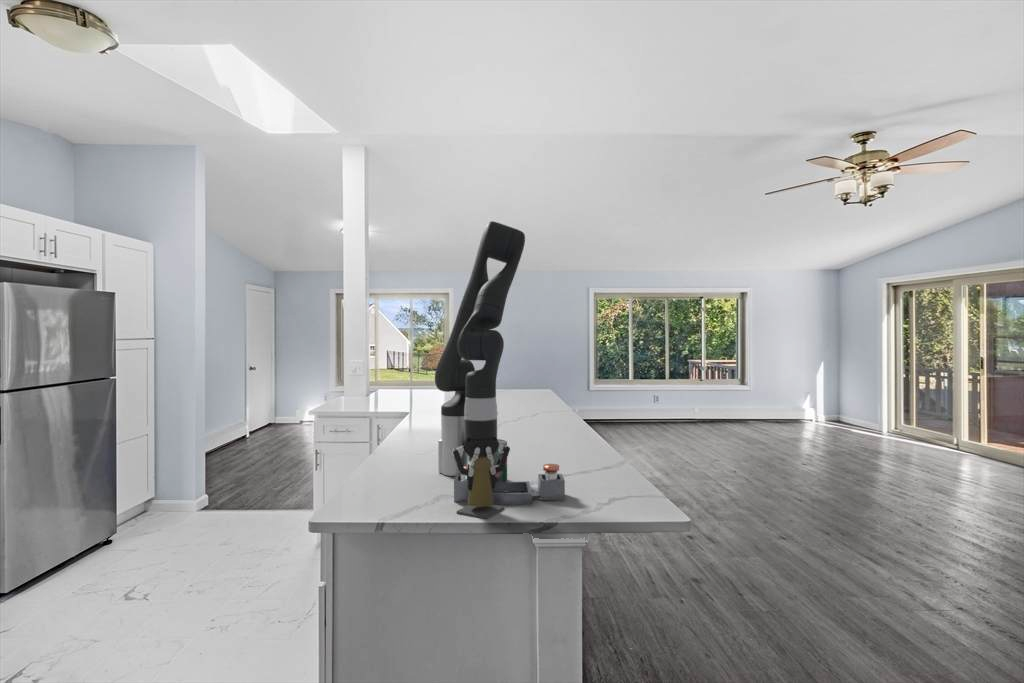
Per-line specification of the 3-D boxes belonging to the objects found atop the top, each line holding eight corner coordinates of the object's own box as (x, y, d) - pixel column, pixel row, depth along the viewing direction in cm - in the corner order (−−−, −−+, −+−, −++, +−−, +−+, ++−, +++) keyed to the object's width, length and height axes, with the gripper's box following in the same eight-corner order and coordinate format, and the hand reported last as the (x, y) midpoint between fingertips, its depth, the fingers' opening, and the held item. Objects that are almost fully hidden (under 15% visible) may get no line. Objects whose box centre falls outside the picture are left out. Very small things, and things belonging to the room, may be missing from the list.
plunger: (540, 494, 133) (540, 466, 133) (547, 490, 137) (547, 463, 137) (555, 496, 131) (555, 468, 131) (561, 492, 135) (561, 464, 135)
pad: (456, 513, 122) (456, 511, 122) (475, 503, 129) (475, 501, 129) (486, 519, 118) (486, 516, 118) (504, 508, 125) (504, 506, 125)
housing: (453, 504, 128) (453, 484, 128) (456, 491, 139) (456, 472, 139) (565, 503, 129) (565, 482, 129) (560, 490, 140) (560, 471, 139)
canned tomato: (513, 481, 149) (513, 441, 149) (493, 487, 143) (493, 446, 143) (493, 475, 154) (493, 437, 154) (472, 481, 148) (472, 441, 148)
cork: (498, 504, 122) (498, 456, 122) (473, 508, 120) (473, 459, 119) (487, 497, 128) (487, 451, 128) (463, 500, 125) (463, 453, 125)
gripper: (505, 412, 129) (505, 484, 129) (447, 415, 125) (447, 489, 125) (515, 417, 122) (515, 492, 122) (453, 420, 118) (453, 498, 118)
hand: (480, 490), depth 124 cm, fingers closed on cork, 3 cm apart
